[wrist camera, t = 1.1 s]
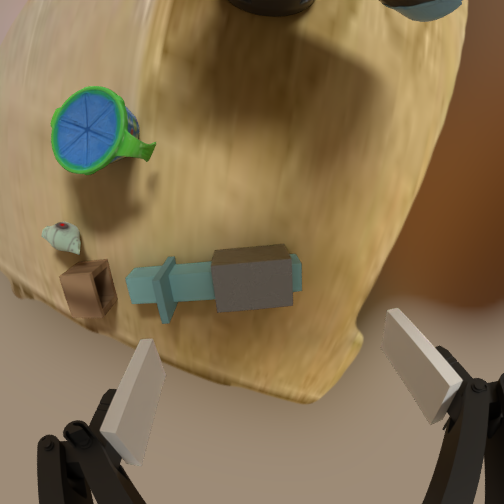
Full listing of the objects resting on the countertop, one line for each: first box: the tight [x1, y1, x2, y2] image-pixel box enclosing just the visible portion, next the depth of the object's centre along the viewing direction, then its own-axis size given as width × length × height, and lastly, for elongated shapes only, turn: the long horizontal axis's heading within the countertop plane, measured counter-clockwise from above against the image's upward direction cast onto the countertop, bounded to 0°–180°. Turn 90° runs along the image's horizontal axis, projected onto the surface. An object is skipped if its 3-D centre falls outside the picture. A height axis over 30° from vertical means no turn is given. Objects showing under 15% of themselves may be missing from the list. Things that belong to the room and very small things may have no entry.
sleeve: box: [211, 244, 293, 313], centre depth 38 cm, size 7×10×6 cm, turn 95°
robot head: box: [42, 222, 81, 255], centre depth 35 cm, size 8×4×7 cm, turn 67°
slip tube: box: [125, 254, 302, 324], centre depth 37 cm, size 6×24×9 cm, turn 95°
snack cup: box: [51, 86, 156, 175], centre depth 29 cm, size 16×10×10 cm
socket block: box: [59, 259, 118, 318], centre depth 38 cm, size 7×6×6 cm
